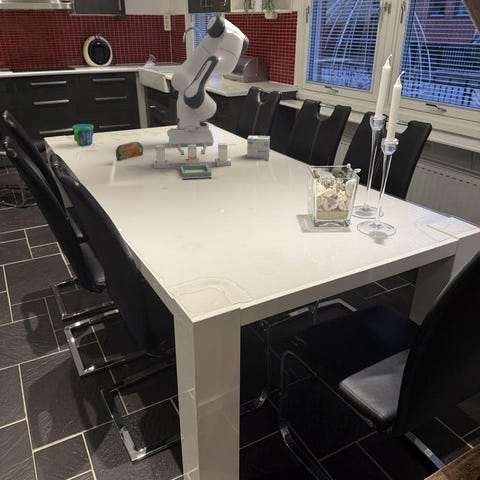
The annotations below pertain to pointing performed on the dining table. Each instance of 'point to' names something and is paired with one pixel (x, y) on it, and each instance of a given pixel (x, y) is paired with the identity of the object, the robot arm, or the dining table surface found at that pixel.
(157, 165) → the board
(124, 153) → the tin
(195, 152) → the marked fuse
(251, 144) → the light bulb box
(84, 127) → the snack cup
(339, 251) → the dining table surface
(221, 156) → the block
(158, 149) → the block
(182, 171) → the tray
